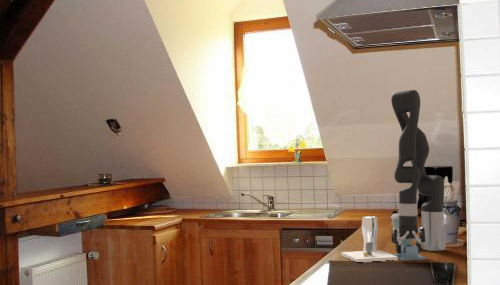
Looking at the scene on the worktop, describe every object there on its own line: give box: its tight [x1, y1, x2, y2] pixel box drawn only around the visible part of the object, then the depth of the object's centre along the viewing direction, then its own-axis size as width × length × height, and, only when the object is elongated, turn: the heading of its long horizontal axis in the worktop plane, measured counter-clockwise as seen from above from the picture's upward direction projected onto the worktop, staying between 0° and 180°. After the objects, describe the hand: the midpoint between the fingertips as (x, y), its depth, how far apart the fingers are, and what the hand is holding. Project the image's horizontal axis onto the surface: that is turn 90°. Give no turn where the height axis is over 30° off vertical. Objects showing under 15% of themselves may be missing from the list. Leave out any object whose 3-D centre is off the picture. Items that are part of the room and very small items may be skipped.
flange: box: [391, 243, 427, 262], centre depth 237 cm, size 10×10×5 cm
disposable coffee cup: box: [390, 212, 413, 245], centre depth 268 cm, size 11×11×15 cm
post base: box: [340, 242, 399, 263], centre depth 237 cm, size 18×16×6 cm
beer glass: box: [361, 215, 379, 251], centre depth 254 cm, size 7×7×15 cm
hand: (408, 253), depth 237 cm, fingers open, 8 cm apart
